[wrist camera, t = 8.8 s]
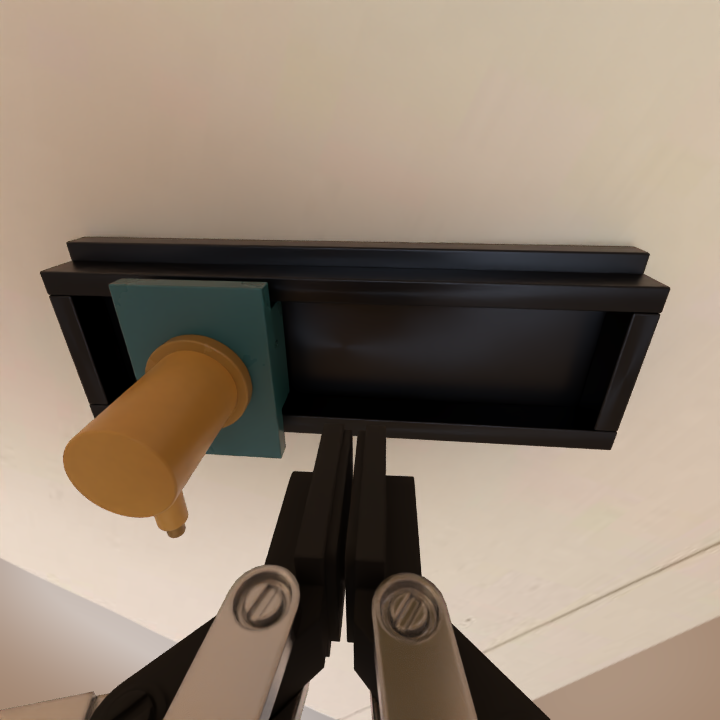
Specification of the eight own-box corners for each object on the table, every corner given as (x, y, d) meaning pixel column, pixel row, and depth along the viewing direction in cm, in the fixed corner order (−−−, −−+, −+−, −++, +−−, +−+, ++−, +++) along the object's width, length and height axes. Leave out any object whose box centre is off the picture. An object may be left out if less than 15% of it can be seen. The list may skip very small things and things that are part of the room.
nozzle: (191, 413, 21) (72, 563, 13) (155, 261, 17) (-38, 350, 10) (298, 418, 20) (238, 578, 13) (285, 264, 17) (190, 360, 9)
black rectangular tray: (135, 401, 23) (99, 434, 20) (84, 236, 18) (30, 251, 16) (579, 424, 21) (606, 464, 18) (635, 246, 16) (680, 264, 14)
